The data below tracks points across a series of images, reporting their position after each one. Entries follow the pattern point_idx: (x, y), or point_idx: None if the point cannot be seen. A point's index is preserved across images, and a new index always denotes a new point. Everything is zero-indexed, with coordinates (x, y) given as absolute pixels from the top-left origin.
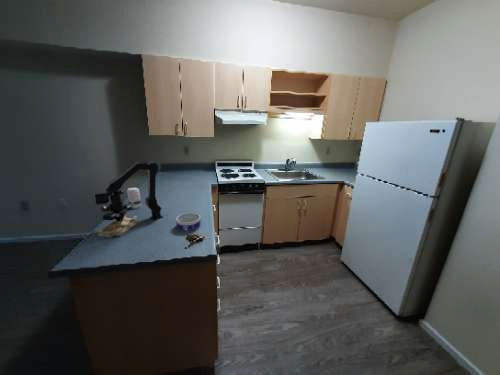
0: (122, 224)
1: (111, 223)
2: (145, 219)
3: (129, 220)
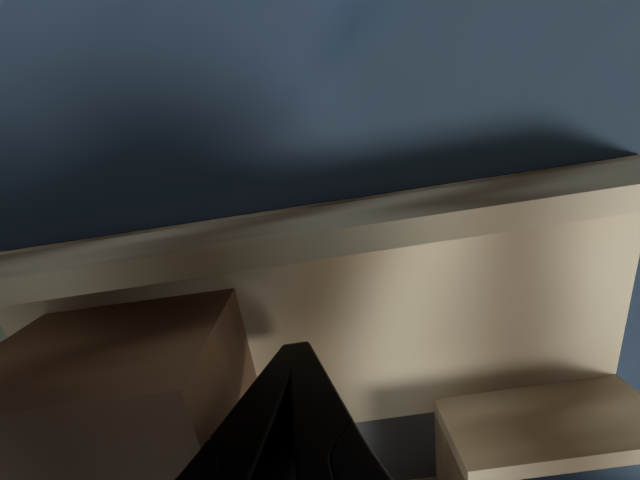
0: (347, 333)
1: (7, 439)
2: (603, 475)
3: (528, 324)
